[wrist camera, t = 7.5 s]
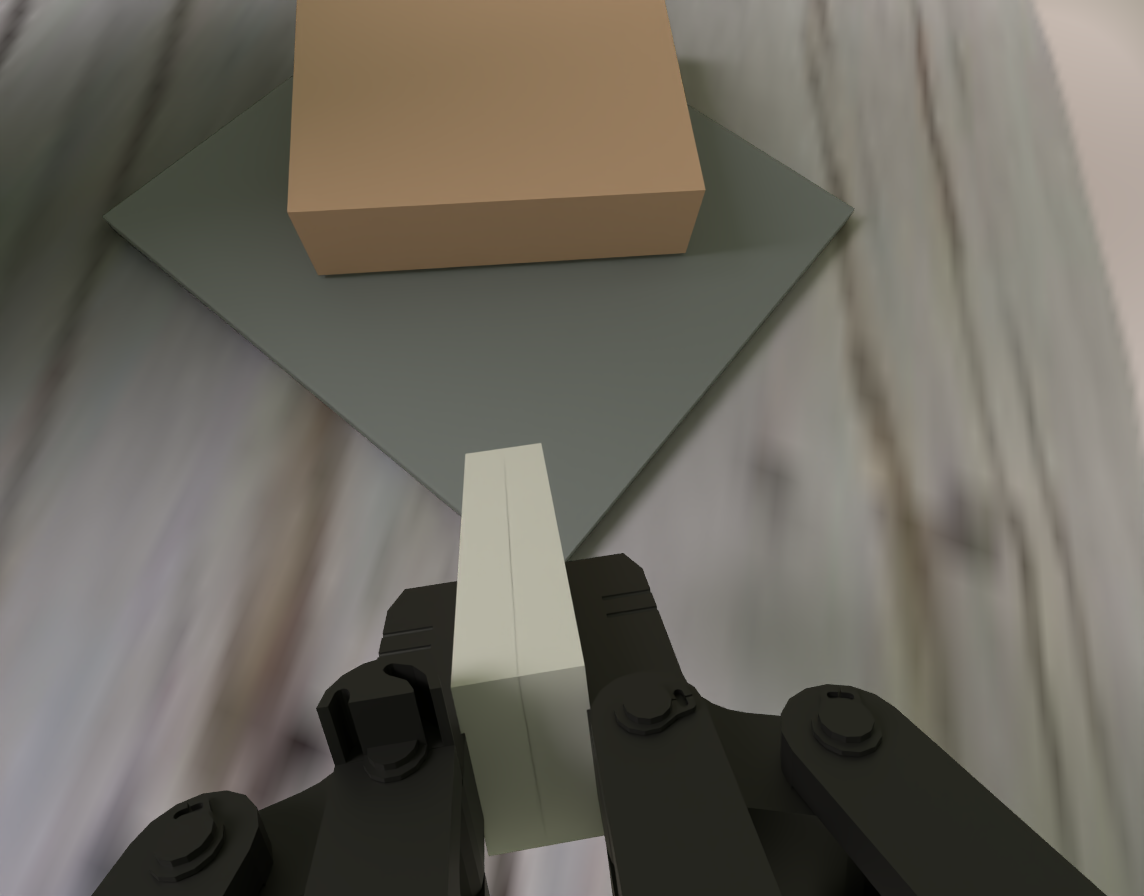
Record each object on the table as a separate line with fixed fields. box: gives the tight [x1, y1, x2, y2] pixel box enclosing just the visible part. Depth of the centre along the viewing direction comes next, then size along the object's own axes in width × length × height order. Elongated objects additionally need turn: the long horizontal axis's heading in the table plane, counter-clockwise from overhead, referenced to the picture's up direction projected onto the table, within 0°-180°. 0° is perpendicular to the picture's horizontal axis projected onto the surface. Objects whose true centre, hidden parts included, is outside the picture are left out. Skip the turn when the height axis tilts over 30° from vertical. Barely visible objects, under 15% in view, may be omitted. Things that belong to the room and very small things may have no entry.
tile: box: [287, 0, 705, 275], centre depth 23 cm, size 3×12×10 cm
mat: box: [102, 76, 854, 562], centre depth 24 cm, size 19×17×1 cm
